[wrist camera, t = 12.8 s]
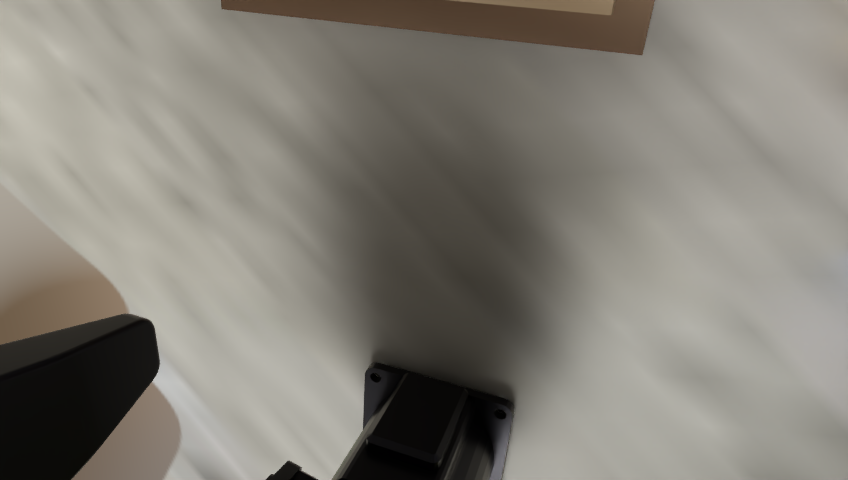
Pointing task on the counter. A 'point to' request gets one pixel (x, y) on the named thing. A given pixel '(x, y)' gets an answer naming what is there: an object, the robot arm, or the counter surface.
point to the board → (486, 18)
